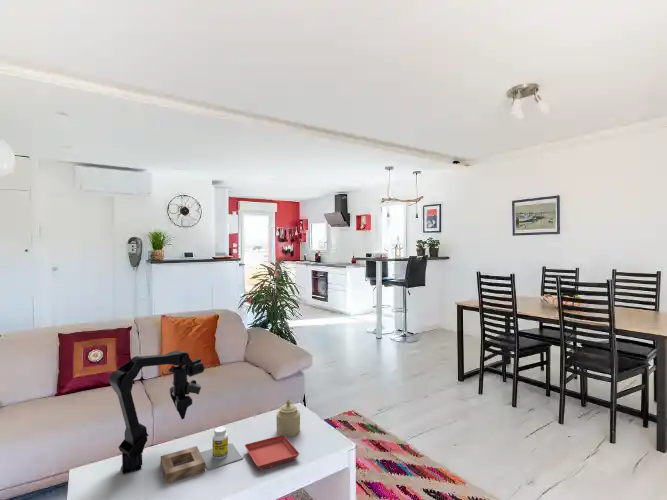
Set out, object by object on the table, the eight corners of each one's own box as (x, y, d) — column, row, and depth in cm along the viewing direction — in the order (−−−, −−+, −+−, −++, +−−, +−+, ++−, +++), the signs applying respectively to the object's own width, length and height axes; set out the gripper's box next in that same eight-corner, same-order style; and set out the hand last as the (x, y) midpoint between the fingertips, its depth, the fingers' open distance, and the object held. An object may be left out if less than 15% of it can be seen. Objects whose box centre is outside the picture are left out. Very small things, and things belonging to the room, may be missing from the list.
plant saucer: (283, 441, 171) (283, 433, 171) (300, 461, 155) (300, 453, 155) (244, 452, 162) (243, 444, 162) (257, 474, 146) (257, 466, 146)
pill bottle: (213, 461, 154) (213, 434, 154) (211, 453, 160) (211, 427, 159) (229, 457, 157) (229, 430, 157) (226, 449, 162) (226, 424, 162)
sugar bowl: (269, 425, 184) (269, 395, 184) (290, 420, 190) (290, 390, 190) (282, 439, 172) (282, 406, 172) (304, 432, 178) (304, 400, 177)
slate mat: (207, 470, 149) (207, 469, 149) (199, 453, 160) (199, 452, 160) (242, 459, 156) (242, 458, 156) (232, 443, 168) (232, 443, 168)
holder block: (166, 483, 141) (166, 474, 141) (160, 464, 152) (160, 456, 152) (205, 471, 148) (205, 462, 148) (196, 454, 160) (196, 445, 160)
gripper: (204, 382, 164) (204, 418, 164) (194, 370, 179) (194, 403, 180) (176, 388, 158) (177, 425, 158) (169, 374, 173) (169, 408, 174)
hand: (180, 414), depth 168 cm, fingers open, 9 cm apart
